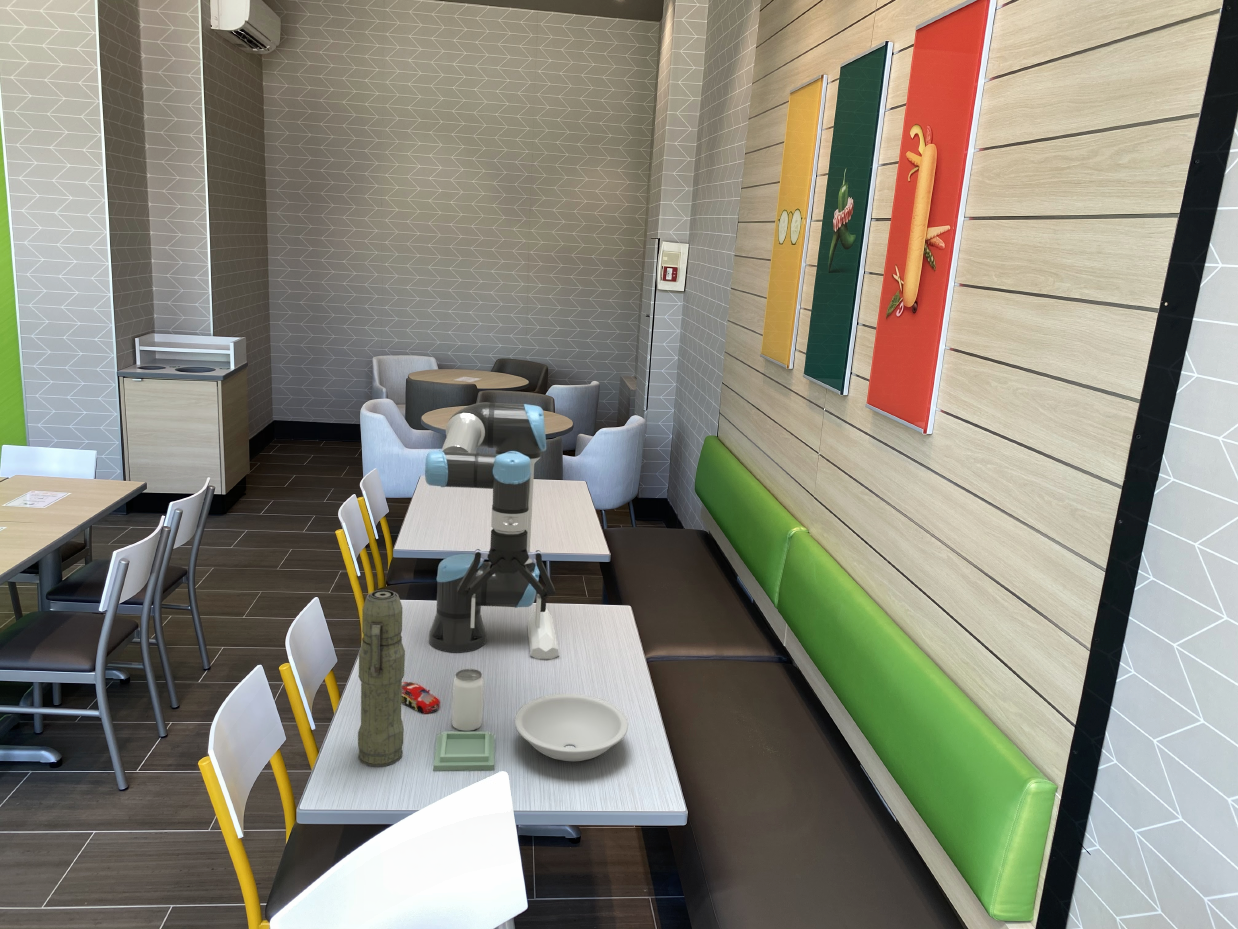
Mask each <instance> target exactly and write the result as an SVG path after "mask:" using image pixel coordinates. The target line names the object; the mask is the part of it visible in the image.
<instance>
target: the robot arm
mask: <svg viewBox="0 0 1238 929" xmlns="http://www.w3.org/2000/svg"><path fill="white" fill-rule="evenodd" d="M544 413H545V412H544V410H543V408H542V407H541V406H540V405H539V406H538V405H533V404H528V403H505V402H504V403H502V402H501V403H500V402H487V401H486V402H478V403H477V402H476V403H473V404H471V405H467V406H466V407H463V408H461V409H459V410H458V411H456V412H455V413H454V414H453V415H452V416H451V417H450V418H449V420H448V422H447V424H446V428H445V435H446V437H445V440H444V443H443V445H442V448H441V449H440V450H430V451H428V452H427V453H426V457H425V462H424V463H425V465H424V466H425V467H424V479H425V483H426V485H428V486H433V487H440V488H466V489H484V490H485V489H487V490H488V489H490V490H492V505H491V506H492V507H491V522H490V525H491V526H490V527H491V528H492V529H491V530H490V544H489V545H490V547H489V551H483V550H481V549H479V548H477V549H475V550H474V553H460V554H454V555H451V556H448V557H446V558H444V559H443V560H441V561H440V562H439V564H438V567H437V576H436V582H437V584H436V586H437V587H436V590H437V591H436V592H437V593H436V610H435V611H436V613H435V616H434V619H433V622H432V625H431V627H430V629H429V633H428V643H429V644H430V645H431V647H433V648H434V649H437V650H438V651H439V650H440V651H442V652H449V653H465V652H471V651H475V650H477V649H480V648H482V647H483V646H484V645H485V644H486V641H487V629H486V626H485V624H484V620H483V617H482V612H481V611H482V610H481V608H482V607H499V608H500V607H502V608H503V607H504V608H515V609H517V608H530V607H531V606H532V605H534V602H535V600H536V604H535V609H536V618H535V625H536V628H540V612H545V610H546V608H547V599H548V597H550V596H551V597H554V596H555V595H556V590H555V587H554V586H555V585H554V584H553V582H552V580H551V578H550V576H549V574H548V572H547V569H546V567H545V565H544V563H543V556H542V551H541V550H539V549H538V550H537V549H536V551H535V552H531V533H532V516H533V515H532V513H533V500H534V499H533V496H534V495H533V494H534V480H535V479H534V478H535V477H534V474H535V464H536V462H537V461H538V460H539V459H541V455H542V453H541V452H545V451H546V450H547V439H546V426H545V415H544ZM478 448H483V449H484V448H486V449H487V448H488V449H495V453H482V452H481V453H480V452H479V453H478V452H477V449H478ZM486 559H488V561H485V560H486ZM540 576H541V578H542V580H543V582H544V584H545V586H546V588H544V587H543V585H542V584H541V583H540V582H539V579H540V578H539V577H540Z"/></svg>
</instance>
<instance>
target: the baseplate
mask: <svg viewBox="0 0 1238 929" xmlns="http://www.w3.org/2000/svg"><path fill="white" fill-rule="evenodd" d="M495 736H496V734H495V733H490V731H442V733H438V734H437V738H436V742H435V743H436V744H435V751H434V758H433V759H434V760H433V772H450V771H453V772H454V771H455V772H457V771H459V772H460V771H461V772H462V771H468V772H469V771H495V744H496V743H495V741H496V740H495Z"/></svg>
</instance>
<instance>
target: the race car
mask: <svg viewBox="0 0 1238 929" xmlns="http://www.w3.org/2000/svg"><path fill="white" fill-rule="evenodd" d="M430 691H431V690H430V689H426V688H425V687H423V686H422V685H420V684H418V683H415V682H410V681H402V700H401V705H402V704H403V705H404V706H406V707H409V708H411V709H413V710H415V711H417V712H418V713H420V714H421V715H423V714H430V713H434V712H436V711H437V710H439V709H440V707H441V706H440V705H441V700H440V698H438V697H437V696H435V695H433V694H432V693H431V692H430Z"/></svg>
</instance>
